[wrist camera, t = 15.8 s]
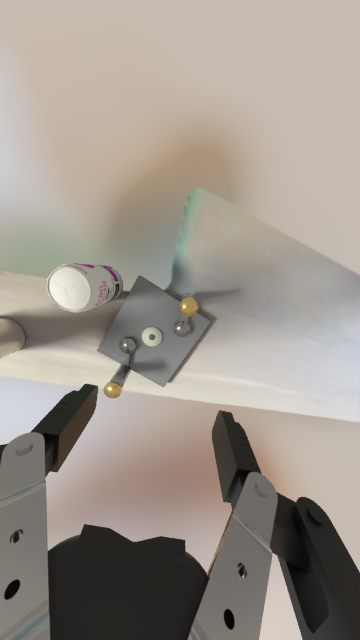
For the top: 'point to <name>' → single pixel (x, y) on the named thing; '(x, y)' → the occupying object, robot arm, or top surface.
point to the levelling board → (152, 332)
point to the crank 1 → (121, 368)
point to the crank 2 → (185, 315)
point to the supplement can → (83, 286)
